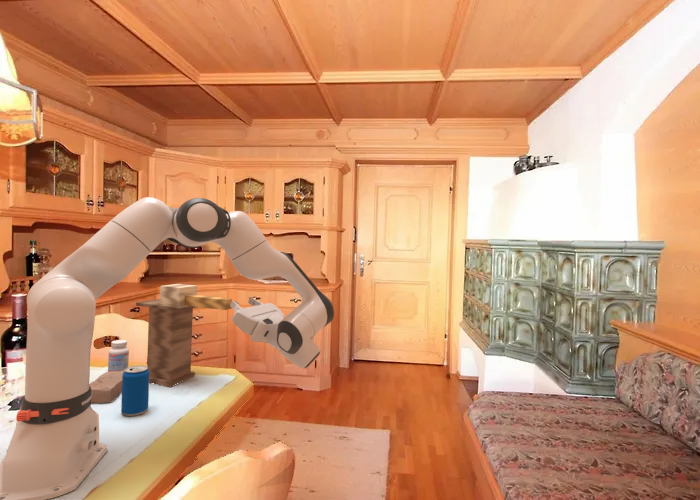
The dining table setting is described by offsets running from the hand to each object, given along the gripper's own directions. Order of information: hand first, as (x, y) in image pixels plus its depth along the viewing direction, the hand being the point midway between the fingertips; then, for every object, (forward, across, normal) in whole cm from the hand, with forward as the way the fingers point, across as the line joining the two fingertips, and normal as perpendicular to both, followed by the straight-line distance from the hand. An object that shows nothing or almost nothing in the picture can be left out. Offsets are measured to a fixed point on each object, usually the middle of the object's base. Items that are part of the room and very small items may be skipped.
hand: (241, 301), depth 121 cm
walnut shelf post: (+9, -1, +39) cm, 40 cm away
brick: (+15, +16, +44) cm, 49 cm away
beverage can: (0, +22, +34) cm, 41 cm away
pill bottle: (+25, +2, +49) cm, 55 cm away
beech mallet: (+13, 0, +11) cm, 17 cm away
